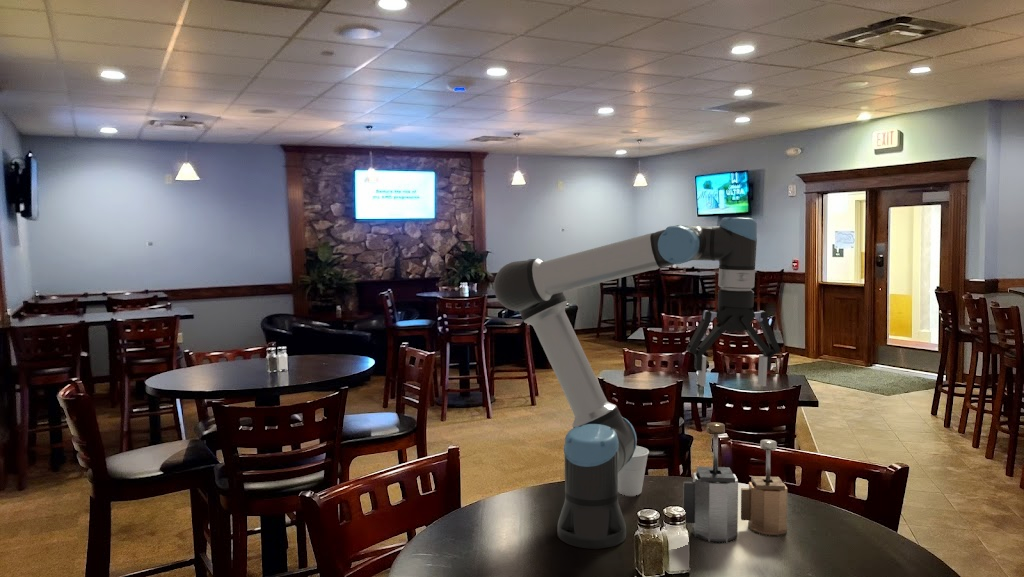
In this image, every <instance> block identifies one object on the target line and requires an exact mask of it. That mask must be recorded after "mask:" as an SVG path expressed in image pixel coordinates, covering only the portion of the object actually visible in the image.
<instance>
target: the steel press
mask: <svg viewBox="0 0 1024 577" xmlns="http://www.w3.org/2000/svg"><path fill="white" fill-rule="evenodd" d="M692 478H693V480H692V481H683V484H682V485H683V486H682V488H683V489H682V490H683V492H682V493H683V496H682V500H683V502H682V504H683V505H682V506H683V508H682V509H684V510H685V512H686V523H685V524H692V536H694V537H695V538H696V539H698V540H700V541H703V542H706V543H710V544H728V543H729V544H730V543H732V542H735V541H736V540H738V536H739V535H738V534H739V533H738V532H739V531H738V526H739V525H738V524H739V522H738V520H739V516H738V515H739V513H738V510H739V509H738V507H739V504H738V503H739V480H738V478H737V476H736V474H735V473H733V471H732V469H731V468H730V467H725V466H718V473H714V472H713V466H696V471H695V472H693V476H692ZM710 482H726V483H710Z"/></svg>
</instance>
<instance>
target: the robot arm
mask: <svg viewBox="0 0 1024 577" xmlns="http://www.w3.org/2000/svg"><path fill="white" fill-rule="evenodd" d="M757 227H758V226H757V221H756V220H755V219H754V218H752V217H723V218H721V220H720V223H719V225H716V226H703V225H702V226H700V225H681V224H678V225H670V226H667V227H666V228H665V229H662V230H658V231H656V232H652V233H651V232H650V233H646V234H644V235H639V236H636V237H635V236H634V237H632V238H628V239H623V240H621V241H617V242H613V243H610V244H606V245H601V246H598V247H594V248H591V249H587V250H583V251H582V250H581V251H580V252H576V253H572V254H568V255H564V256H561V257H557V258H553V259H549V260H544V259H541V258H529V259H527V260H519V261H516V260H515V261H511V262H509V263H507V264H505V265H503V266H502V267H501V268H500V269H499V270H498V271H497V273H496V276H495V278H494V281H493V291H494V295H495V297H496V299H497V301H498V303H500V304H501V305H502V307H505V308H506V309H508V310H510V311H515V312H519V315H520V318H521V319H522V321H523V323H525V324H527V325H530V326H532V327H533V329H534V332H535V333H536V336H537V338H538V341H539V343H540V345H541V347H542V348H543V349H542V350H543V351H544V353H545V355H546V357H547V358H546V359H547V360H548V362H549V364H550V365H551V368H552V370H553V372H554V375H555V377H556V379H557V381H558V383H559V386H560V387H561V389H562V391H563V392H562V393H563V394H564V395H565V398H566V400H567V402H568V404H569V405H568V406H570V409H571V411H572V413H573V415H574V418H573V422H572V428H570V429H569V431H568V432H567V433H566V435H565V439H564V444H563V453H564V454H563V455H564V503H563V505H562V508H561V511H560V514H559V518H558V521H557V530H556V531H557V537H558V539H560V540H561V541H562V542H564V543H565V544H568V545H570V546H573V547H576V548H579V549H580V548H581V549H588V550H589V549H592V550H595V549H596V550H597V549H600V550H601V549H606V548H612V547H615V546H618V545H619V544H622V543H623V542H624V541H625V540H626V539H627V525H626V520H625V518H624V516H623V515H624V514H623V512H622V509H621V507H620V504H619V492H618V472H619V471H620V470H621V469H622V468H623V466H624V465H625V464H626V463H628V462H629V461H630V459H631V458H632V456H633V454H634V451H635V449H636V446H637V443H638V442H637V441H638V438H637V437H638V436H637V432H636V431H635V428H634V426H633V424H632V423H631V422H630V421H629V420H628V419H627V418H625V417H623V416H622V414H621V411H620V409H619V408H618V406H617V405H616V404H614V403H612V402H609V401H608V399H607V397H606V396H605V393H604V391H603V388H602V387H601V384H600V382H599V381H598V379H597V377H596V374H595V372H594V370H593V368H592V366H591V363H590V362H589V360H588V357H587V356H586V353H585V351H584V348H583V347H582V345H581V342H580V341H579V338H578V336H577V335H576V331H575V330H574V328H573V325H572V323H571V322H570V319H569V317H568V315H567V313H566V307H567V305H568V299H567V298H566V295H565V293H566V292H568V291H574V290H578V289H581V288H584V287H589V286H593V285H596V284H597V285H598V284H601V283H605V282H609V281H613V280H618V279H621V278H624V277H629V276H633V275H638V274H641V273H645V272H649V271H654V270H657V269H661V268H666V267H671V266H674V265H680V264H685V263H688V262H691V261H713V262H715V261H716V262H717V261H718V263H719V265H718V280H717V281H718V283H717V286H718V287H719V288H720V289H718V290H717V306H716V307H717V309H716V311H709V310H706V309H704V310H703V311H702V314H701V320H700V322H699V323H698V325H697V328H696V330H695V331H694V333H693V335H692V337H691V338H690V340H689V341H688V342H689V343H688V344H687V346H686V351H687V352H689V353H690V354H693V355H694V362H693V364H694V370H696V371H697V384H698V385H699V386H700V387H706V378H707V377H706V375H707V374H706V373H707V356H705V355H704V354H706V352H707V351H708V350H709V349H710V347H712V345H714V343H715V342H716V341H717V339H719V337H720V336H721V335H722V334H724V333H725V332H728V333H733V332H739V333H743V332H745V333H746V334H747V335H748V336H749V337H750V339H751V340H752V341H753V342H754V344H755V345H756V346H757V348H758V349H759V351H760V352H761V353H762V354H758V374H757V376H758V377H757V384H758V385H759V386H761V387H767V380H768V379H767V375H768V371H771V369H772V358H773V357H774V356H775V355H776V354H777V355H778V354H780V353H781V348H780V346H779V344H778V341H777V339H776V336H775V333H774V332H773V330H772V327H771V325H770V323H769V314H768V312H767V311H764V310H760V309H759V310H758V311H754V303H755V302H754V301H755V300H754V299H755V292H754V290H752V289H754V288H755V282H756V280H755V278H756V262H757V259H756V258H757V257H756V256H757V244H758V243H757V242H758V238H757V237H758V236H757V232H758V231H757ZM714 319H715V320H716V321H717V323H716V324H715V325H714V326H713V329H712V330H711V331H710V332H709V333H708V334H707V335H706V337H705V338H704V335H705V334H706V332H707V330H708V329H709V327H710V324H711V322H713V320H714ZM754 320H756V321H757V322H758V323H759V327H760V329H761V331H762V333H763V336H764V338H765V340H766V342H767V344H766V342H765V341H764V340H763V339H762V337H761V336H760V335H759V334H758V332H757V330H756V329H755V328H754V326H753V325H752V324H751V323H752V322H753V321H754ZM703 338H704V339H703Z"/></svg>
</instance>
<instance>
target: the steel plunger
mask: <svg viewBox="0 0 1024 577" xmlns="http://www.w3.org/2000/svg"><path fill="white" fill-rule="evenodd" d="M725 426H726V424H724V423H722V422H708V423H706V432H707V433H709V434H710V435H711V434H712V435H713V436H712V437H713V438H712V448H713V449H712V467H713V472H714V473H718V467H719V435H723V434H725V432H726V427H725ZM710 483H726V482H710Z"/></svg>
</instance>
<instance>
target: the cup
mask: <svg viewBox="0 0 1024 577" xmlns="http://www.w3.org/2000/svg"><path fill="white" fill-rule="evenodd" d="M649 454H650V450H649V449H648V448H646V447H643V446H639V445H636V449H635V451H634V454H633V456H632V458H631V459H630V461H629V462H628V463H626V464H625V465H624V466H623V468H622V469H621V470H620V471H619V472H618V494H619V495H621V494H622V495H621V496H624V495H625V497H636V495H637V496H639V495H640V494H642V491H643V486H644V485H643V484H644V479H645V473H646V467H647V461H648V456H649Z"/></svg>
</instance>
